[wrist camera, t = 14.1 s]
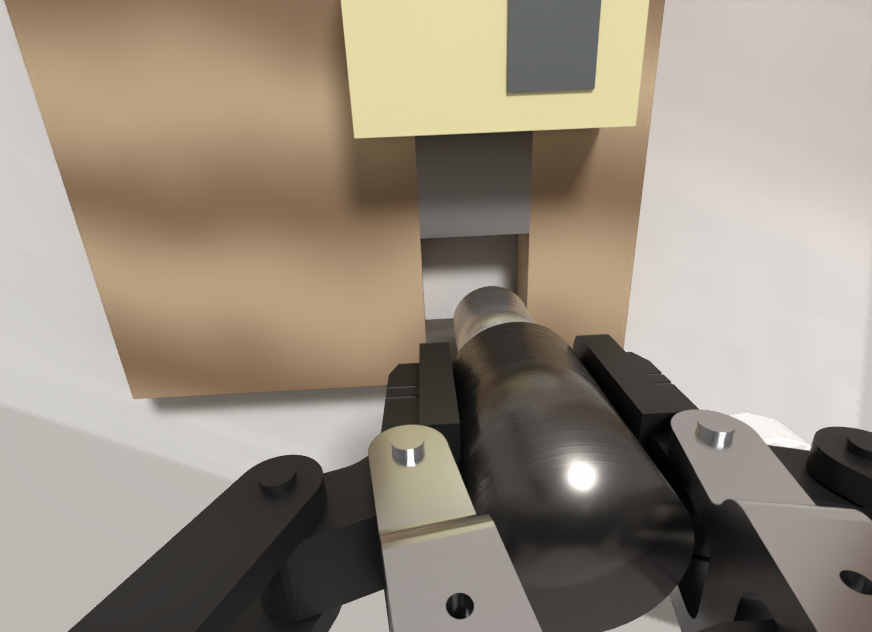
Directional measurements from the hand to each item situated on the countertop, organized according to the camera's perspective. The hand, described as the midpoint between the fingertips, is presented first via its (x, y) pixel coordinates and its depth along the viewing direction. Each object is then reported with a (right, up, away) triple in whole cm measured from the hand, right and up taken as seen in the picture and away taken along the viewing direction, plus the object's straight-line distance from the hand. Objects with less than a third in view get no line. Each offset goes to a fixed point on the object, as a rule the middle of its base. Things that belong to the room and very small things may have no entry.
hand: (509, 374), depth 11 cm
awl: (0, +1, +3) cm, 4 cm away
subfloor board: (-5, +7, +6) cm, 10 cm away
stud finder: (0, +10, +3) cm, 10 cm away
